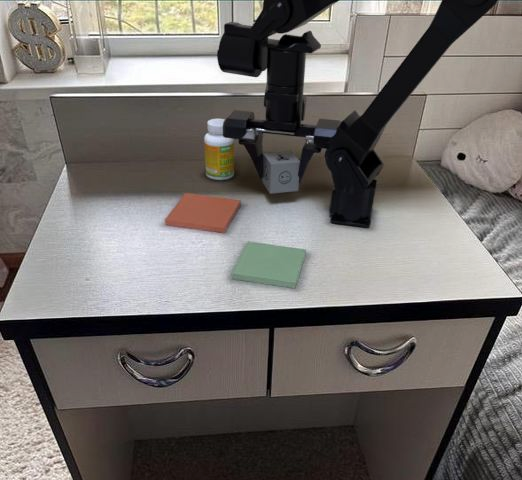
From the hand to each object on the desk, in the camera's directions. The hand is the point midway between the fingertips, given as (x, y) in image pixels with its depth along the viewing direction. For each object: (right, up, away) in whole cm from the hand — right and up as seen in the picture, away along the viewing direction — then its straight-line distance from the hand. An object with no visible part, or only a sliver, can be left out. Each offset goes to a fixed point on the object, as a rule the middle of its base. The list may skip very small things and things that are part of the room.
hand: (280, 180), depth 90 cm
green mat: (-2, -17, -14) cm, 22 cm away
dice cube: (0, -1, +1) cm, 1 cm away
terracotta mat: (-13, -7, -3) cm, 15 cm away
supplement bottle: (-11, +4, +10) cm, 15 cm away
